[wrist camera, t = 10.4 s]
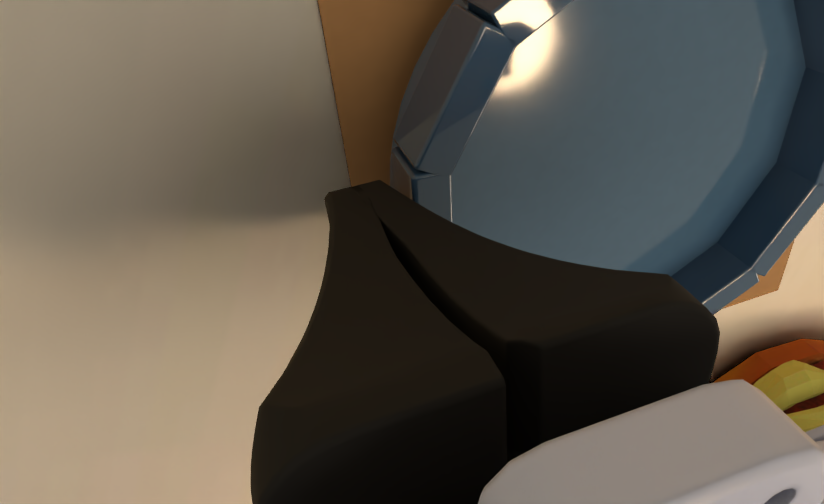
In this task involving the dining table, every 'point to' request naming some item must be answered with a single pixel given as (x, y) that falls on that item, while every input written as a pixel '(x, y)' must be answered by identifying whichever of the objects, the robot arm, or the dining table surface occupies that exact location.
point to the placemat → (399, 85)
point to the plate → (623, 132)
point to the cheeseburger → (788, 379)
